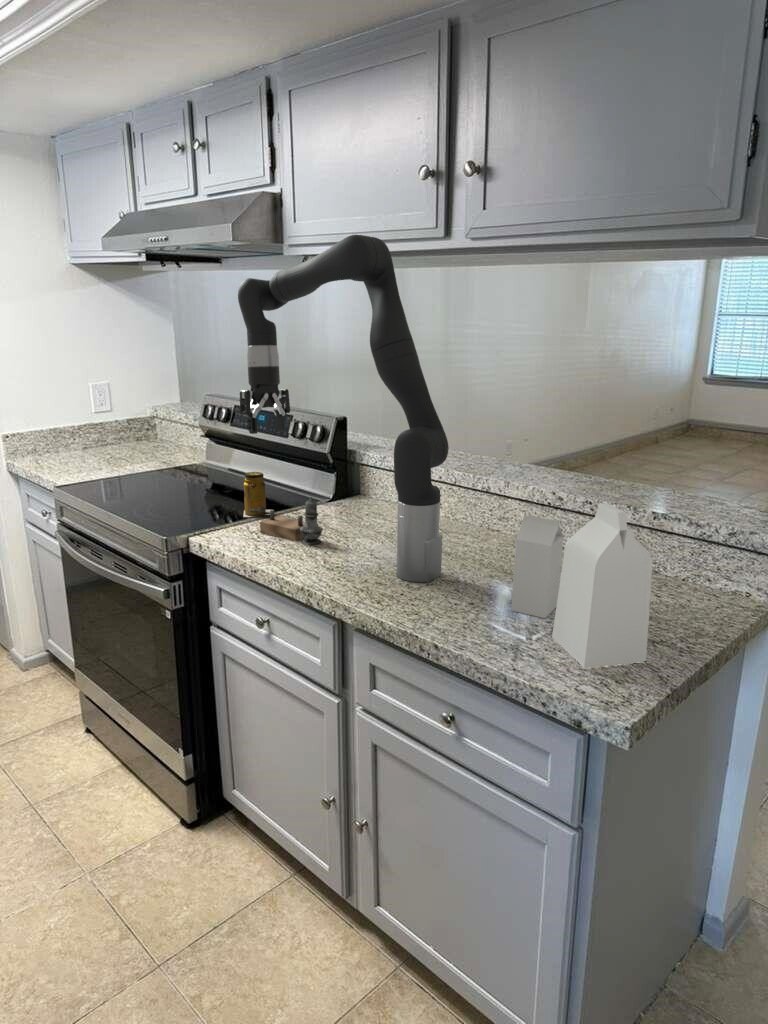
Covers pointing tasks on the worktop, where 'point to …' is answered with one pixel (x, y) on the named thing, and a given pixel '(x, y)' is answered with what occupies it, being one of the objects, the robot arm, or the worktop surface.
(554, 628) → the milk
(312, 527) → the salt shaker
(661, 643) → the worktop surface
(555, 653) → the worktop surface
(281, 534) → the walnut stand
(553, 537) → the milk carton
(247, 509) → the condiment
